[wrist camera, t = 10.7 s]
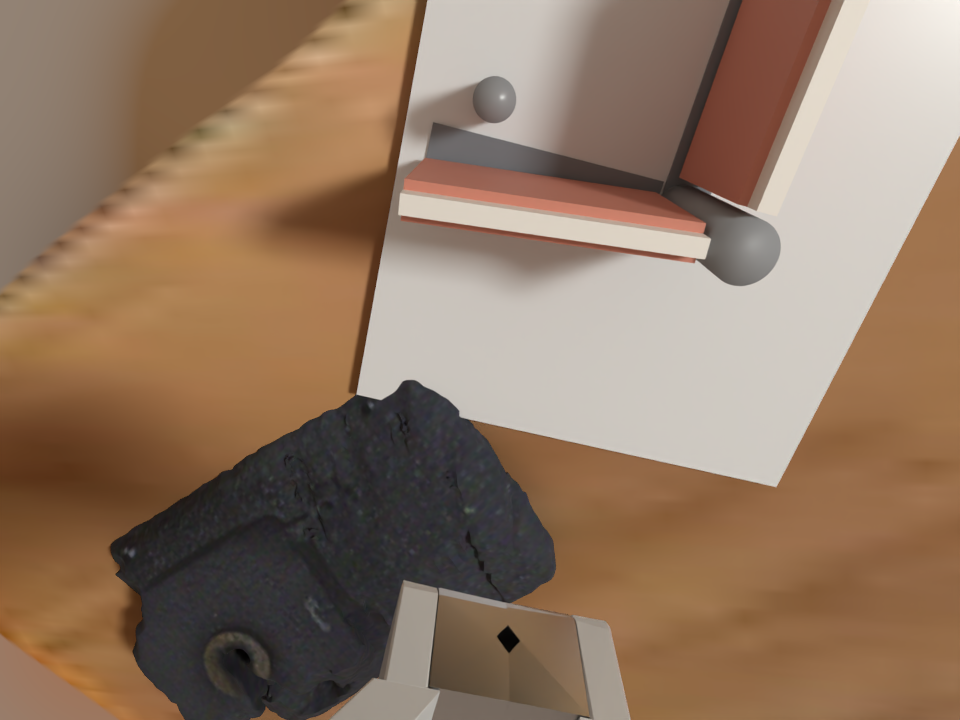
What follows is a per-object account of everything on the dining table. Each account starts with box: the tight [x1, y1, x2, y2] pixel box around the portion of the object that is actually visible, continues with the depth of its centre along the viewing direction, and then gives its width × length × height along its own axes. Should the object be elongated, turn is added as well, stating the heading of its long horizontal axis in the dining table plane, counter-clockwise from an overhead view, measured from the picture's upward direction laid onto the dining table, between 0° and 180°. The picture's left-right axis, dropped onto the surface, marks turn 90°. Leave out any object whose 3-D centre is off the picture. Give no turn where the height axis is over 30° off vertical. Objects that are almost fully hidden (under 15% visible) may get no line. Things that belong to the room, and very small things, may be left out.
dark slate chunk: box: [111, 380, 556, 720], centre depth 30 cm, size 15×22×5 cm
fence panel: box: [398, 158, 711, 263], centre depth 20 cm, size 9×1×7 cm, turn 82°
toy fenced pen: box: [356, 0, 960, 487], centre depth 23 cm, size 21×20×4 cm
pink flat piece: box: [661, 0, 870, 286], centre depth 19 cm, size 10×2×7 cm, turn 166°
